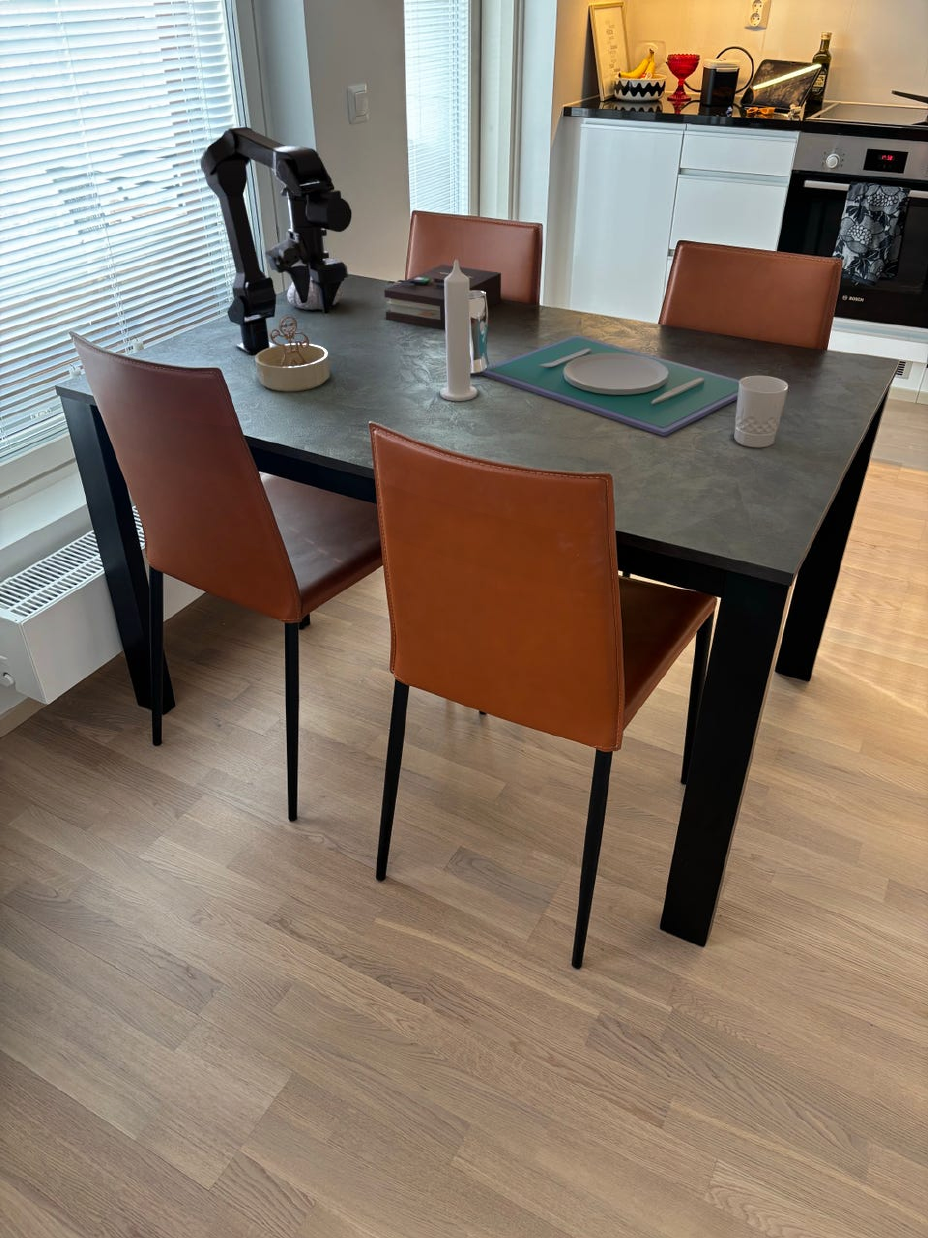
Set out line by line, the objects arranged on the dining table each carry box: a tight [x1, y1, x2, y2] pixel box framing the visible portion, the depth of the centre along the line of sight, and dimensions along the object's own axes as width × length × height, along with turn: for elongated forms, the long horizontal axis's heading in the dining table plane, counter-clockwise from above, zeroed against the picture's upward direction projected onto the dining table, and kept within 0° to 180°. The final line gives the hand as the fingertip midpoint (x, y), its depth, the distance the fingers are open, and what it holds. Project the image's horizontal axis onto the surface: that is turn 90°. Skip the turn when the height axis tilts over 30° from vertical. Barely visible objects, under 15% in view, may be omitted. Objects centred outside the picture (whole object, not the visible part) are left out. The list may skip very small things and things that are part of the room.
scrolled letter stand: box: [269, 315, 310, 367], centre depth 185 cm, size 9×4×12 cm, turn 127°
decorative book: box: [383, 264, 502, 330], centre depth 224 cm, size 19×8×30 cm
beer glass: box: [469, 290, 490, 375], centre depth 187 cm, size 7×7×15 cm
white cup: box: [733, 375, 789, 448], centre depth 159 cm, size 8×8×10 cm
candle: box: [439, 259, 478, 402], centre depth 174 cm, size 7×7×25 cm
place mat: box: [480, 334, 741, 437], centre depth 184 cm, size 45×30×2 cm
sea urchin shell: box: [286, 277, 343, 310], centre depth 229 cm, size 13×14×8 cm
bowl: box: [254, 343, 331, 392], centre depth 187 cm, size 14×14×5 cm
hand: (315, 308), depth 184 cm, fingers open, 9 cm apart
